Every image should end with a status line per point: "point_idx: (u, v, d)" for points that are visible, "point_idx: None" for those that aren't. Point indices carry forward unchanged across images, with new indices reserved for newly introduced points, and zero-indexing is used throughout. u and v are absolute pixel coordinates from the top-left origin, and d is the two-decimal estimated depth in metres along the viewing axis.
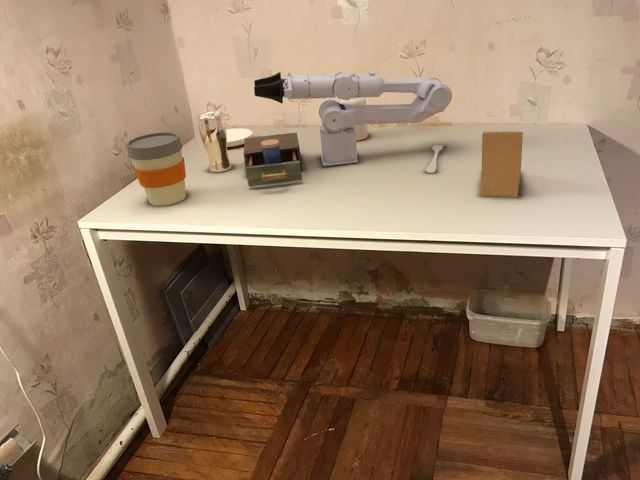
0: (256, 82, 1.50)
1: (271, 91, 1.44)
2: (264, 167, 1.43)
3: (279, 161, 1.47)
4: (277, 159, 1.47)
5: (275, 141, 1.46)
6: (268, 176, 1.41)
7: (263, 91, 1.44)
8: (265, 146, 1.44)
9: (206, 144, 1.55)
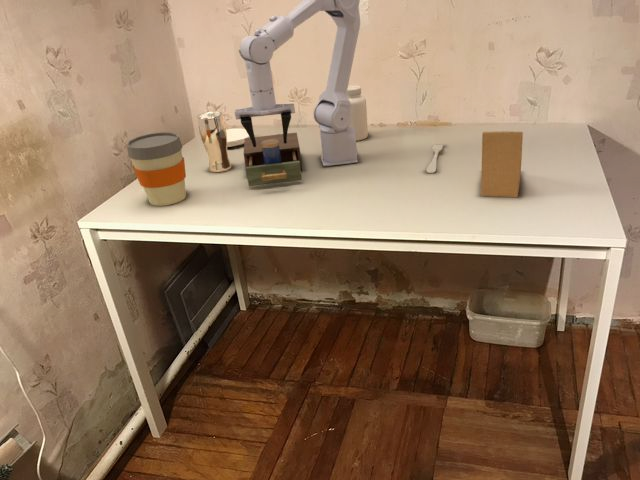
0: (255, 144, 1.45)
1: None
2: (264, 167, 1.43)
3: (279, 161, 1.47)
4: (277, 159, 1.47)
5: (275, 141, 1.46)
6: (268, 176, 1.41)
7: None
8: (265, 146, 1.44)
9: (206, 144, 1.55)
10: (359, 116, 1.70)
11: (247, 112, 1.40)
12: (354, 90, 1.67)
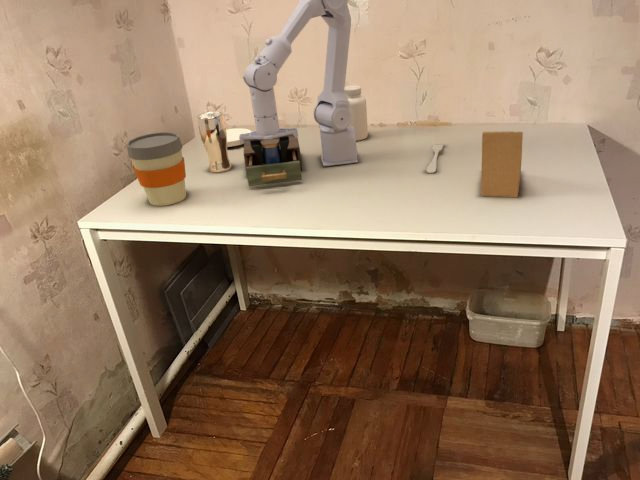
0: None
1: None
2: (264, 167, 1.43)
3: (279, 161, 1.47)
4: (278, 159, 1.47)
5: (275, 141, 1.46)
6: (268, 176, 1.41)
7: None
8: (265, 146, 1.44)
9: (206, 144, 1.55)
10: (359, 116, 1.70)
11: (251, 137, 1.43)
12: (354, 90, 1.67)
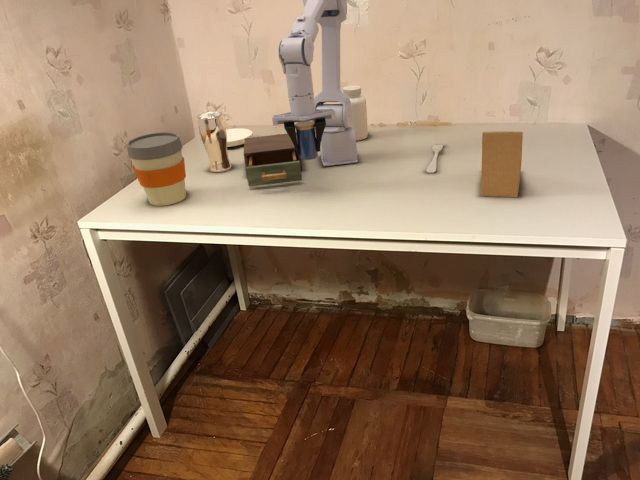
0: None
1: None
2: (264, 167, 1.43)
3: (314, 145, 1.36)
4: (313, 143, 1.35)
5: (310, 123, 1.35)
6: (268, 176, 1.41)
7: None
8: (300, 128, 1.33)
9: (206, 144, 1.55)
10: (359, 116, 1.70)
11: (285, 118, 1.32)
12: (354, 90, 1.67)
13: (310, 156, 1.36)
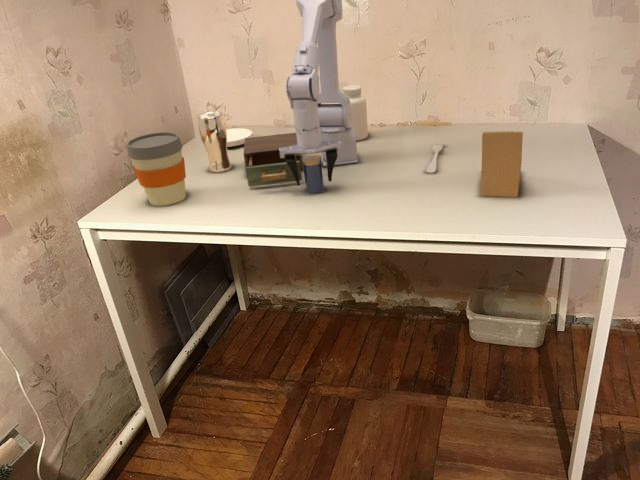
0: (299, 182, 1.40)
1: None
2: (264, 167, 1.43)
3: (321, 179, 1.40)
4: (319, 177, 1.39)
5: (317, 158, 1.38)
6: (268, 176, 1.41)
7: None
8: (307, 163, 1.37)
9: (206, 144, 1.55)
10: (359, 116, 1.70)
11: (292, 151, 1.35)
12: (354, 90, 1.67)
13: (317, 190, 1.40)
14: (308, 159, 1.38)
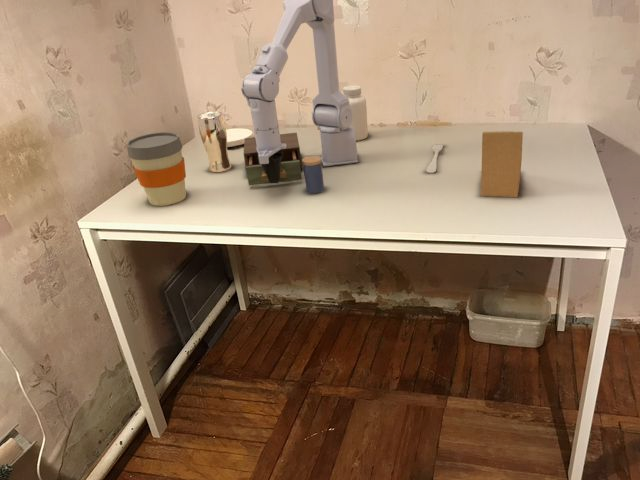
0: None
1: None
2: None
3: (321, 179, 1.40)
4: (319, 177, 1.39)
5: (317, 158, 1.38)
6: None
7: None
8: (307, 163, 1.37)
9: (206, 144, 1.55)
10: (359, 116, 1.70)
11: (273, 152, 1.32)
12: (354, 90, 1.67)
13: (317, 190, 1.40)
14: (308, 159, 1.38)
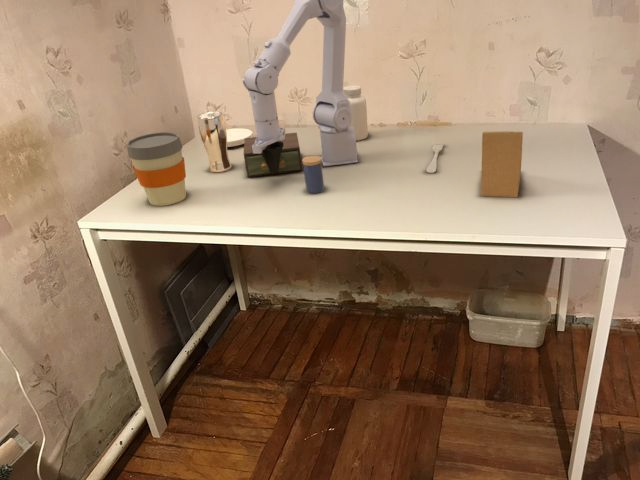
0: None
1: None
2: None
3: (321, 179, 1.40)
4: (319, 177, 1.39)
5: (317, 158, 1.38)
6: None
7: None
8: (307, 163, 1.37)
9: (206, 144, 1.55)
10: (359, 116, 1.70)
11: (268, 143, 1.39)
12: (354, 90, 1.67)
13: (317, 190, 1.40)
14: (308, 159, 1.38)
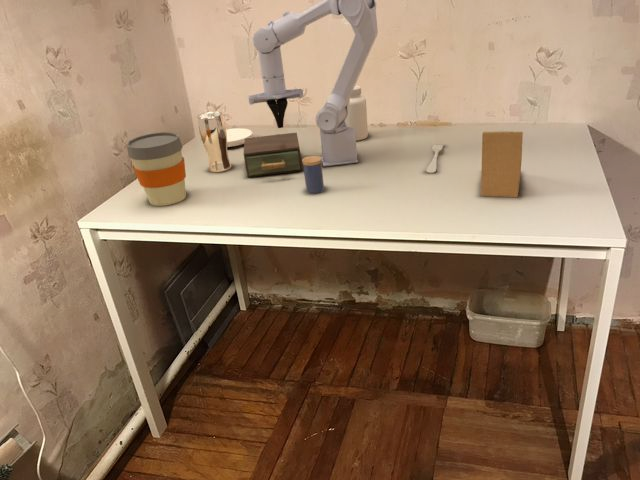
0: None
1: None
2: (264, 157, 1.50)
3: (321, 179, 1.40)
4: (319, 177, 1.39)
5: (317, 158, 1.38)
6: (268, 165, 1.47)
7: None
8: (307, 163, 1.37)
9: (206, 144, 1.55)
10: (359, 116, 1.70)
11: (260, 97, 1.52)
12: (354, 90, 1.67)
13: (317, 190, 1.40)
14: (308, 159, 1.38)
